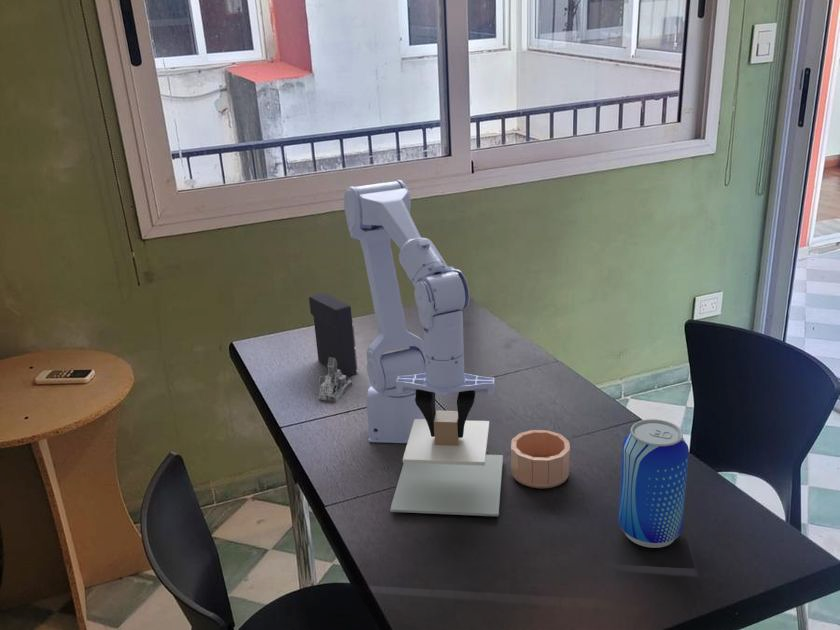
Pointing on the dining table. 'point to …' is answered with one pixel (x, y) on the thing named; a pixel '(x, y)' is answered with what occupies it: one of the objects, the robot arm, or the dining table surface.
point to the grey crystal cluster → (333, 382)
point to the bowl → (540, 458)
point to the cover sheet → (447, 453)
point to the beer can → (653, 483)
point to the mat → (450, 488)
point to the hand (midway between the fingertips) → (447, 433)
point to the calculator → (334, 332)
